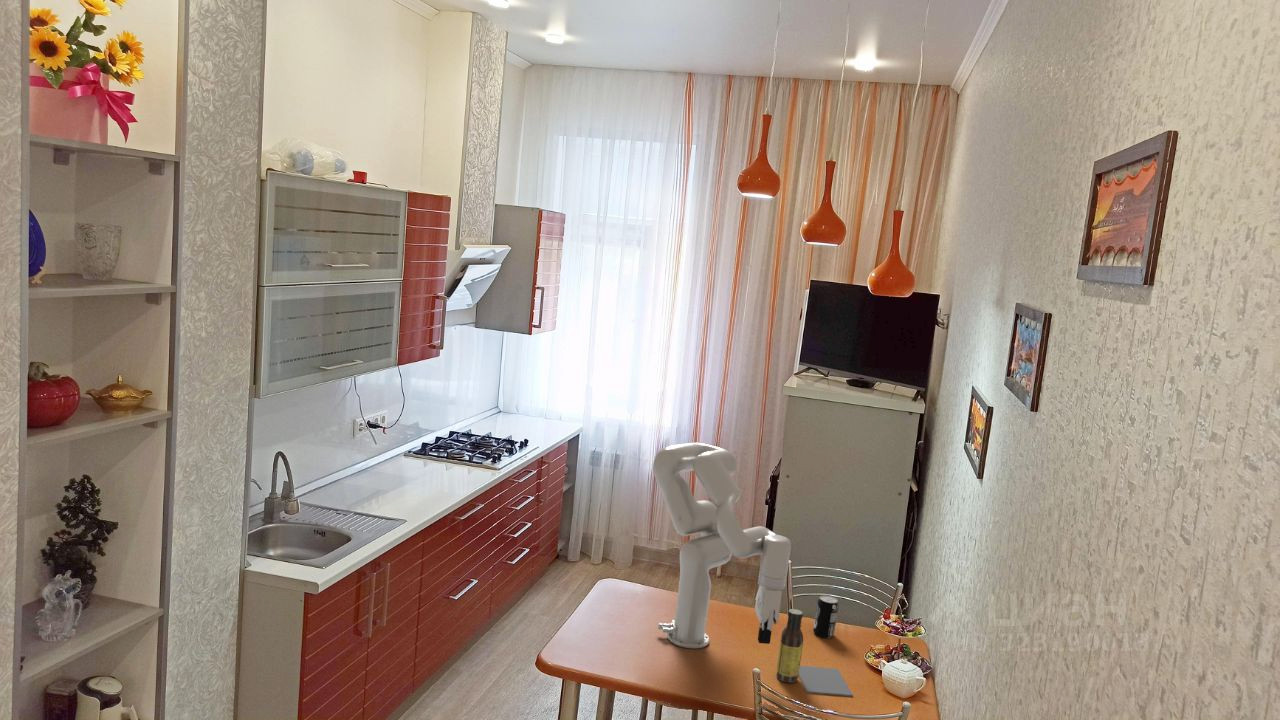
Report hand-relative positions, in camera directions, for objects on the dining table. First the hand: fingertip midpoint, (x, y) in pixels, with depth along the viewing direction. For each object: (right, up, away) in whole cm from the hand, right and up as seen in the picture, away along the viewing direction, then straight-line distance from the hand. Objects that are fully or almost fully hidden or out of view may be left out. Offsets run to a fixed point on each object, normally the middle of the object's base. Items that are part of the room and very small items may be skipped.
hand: (763, 642), depth 258 cm
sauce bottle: (+7, -11, +2) cm, 13 cm away
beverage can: (+24, -8, +35) cm, 43 cm away
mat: (+17, -12, +3) cm, 21 cm away
